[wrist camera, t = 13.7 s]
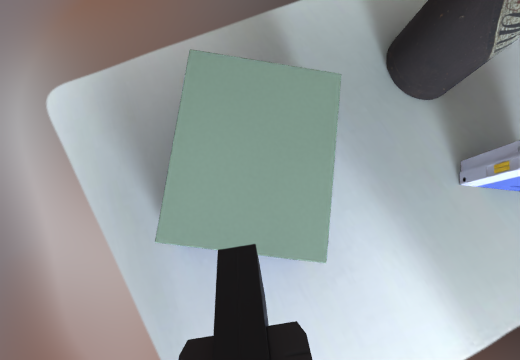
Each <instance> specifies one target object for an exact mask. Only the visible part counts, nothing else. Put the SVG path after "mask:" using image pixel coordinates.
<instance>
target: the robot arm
mask: <svg viewBox="0 0 520 360" xmlns="http://www.w3.org/2000/svg"><path fill="white" fill-rule="evenodd" d="M179 360H312V356H311V353H310V348H309V343H308V339H307V335H306V333H305V332H304V330H303V329H302V328H301V326H300V325H299V324H298V323H297V321H296V322H290V323H283V324H277V325H271V326H268V318H267V310H266V301H265V294H264V288H263V282H262V277H261V271H260V265H259V259H258V254H257V248H256V244H251V245H245V246H238V247H232V248H226V249H219V250H218V260H217V279H216V299H215V319H214V336H209V337H203V338H196V339H190V340H188V341H187V342H186V344H185V346H184V348H183V350H182V352H181V353H180V355H179Z"/></svg>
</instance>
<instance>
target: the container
mask: <svg viewBox="0 0 520 360" xmlns="http://www.w3.org/2000/svg"><path fill="white" fill-rule="evenodd" d="M518 38H520V0H428V1H427V2H426V3H425V5H424V6H423V7H422V8H421V9H420V10H419V12H418V13H417V14H416V15H415V16H414V17H413V19H412V20H411V21H410V22H409V23H408V24H407V26H406V27H405V28H404V29H403V30H402V31H401V32H400V34H399V35H398V36H397V37H396V39H395V40H394V41H393V42H392V44H391V45H390V48H389V50H388V53H387V66H388V70H389V73H390V75H391V77H392V79H393V81H394V82H395V83H396V85H397V86H398V87H399V88H400V89H401V90H402V91H404V92H405V93H407V94H408V95H410V96H412V97H415V98H418V99H424V100H431V99H435V98H438V97H440V96H441V95H443V94H444V93H446V92H447V91H448V90H450V89H451V88H452V87H454V86H455V85H456V84H458V83H459V82H460V81H462V80H463V79H464V78H466V77H467V76H468V75H470V74H471V73H472V72H474V71H475V70H477V69H478V68H479V67H481V66H482V65H483V64H485V63H486V62H487V61H489V60H490V59H491V58H493V57H494V56H495V55H497V54H498V53H499V52H501V51H502V50H504V49H505V48H507V47H508V46H509V45H510V44H512V43H513V42H514V41H516V40H517V39H518Z"/></svg>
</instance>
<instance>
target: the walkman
mask: <svg viewBox="0 0 520 360" xmlns="http://www.w3.org/2000/svg"><path fill="white" fill-rule="evenodd" d="M460 185H467V186H477V187H487V188H496V189H505V190H515V191H520V140H519V141H516V142H513V143H510V144H508V145H505V146H502V147H499V148H497V149H494V150H491V151H488V152H485V153H483V154H480V155H477V156H474V157H472V158H469V159H466V160H463V161H461V172H460Z"/></svg>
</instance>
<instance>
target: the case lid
mask: <svg viewBox="0 0 520 360" xmlns="http://www.w3.org/2000/svg"><path fill="white" fill-rule="evenodd" d="M340 84H341V74H338V73H332V72H325V71H319V70H313V69H307V68H301V67H295V66H289V65H283V64H277V63H270V62H264V61H258V60H252V59H246V58H240V57H234V56H228V55H221V54H215V53H209V52H203V51H197V50H191V49H190V51H189V56H188V62H187V67H186V73H185V79H184V84H183V90H182V95H181V101H180V106H179V112H178V117H177V123H176V128H175V134H174V140H173V145H172V151H171V156H170V162H169V167H168V173H167V178H166V184H165V189H164V195H163V201H162V206H161V212H160V217H159V223H158V228H157V234H156V239H155V242H156V243H164V244H172V245H180V246H188V247H196V248H204V249H213V250H219V249H226V248H232V247H238V246H245V245H251V244H256V248H257V254H258V255H261V256H270V257H278V258H286V259H294V260H302V261H310V262H319V263H326V260H327V248H328V235H329V222H330V210H331V197H332V185H333V172H334V159H335V147H336V134H337V122H338V109H339V96H340Z"/></svg>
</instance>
